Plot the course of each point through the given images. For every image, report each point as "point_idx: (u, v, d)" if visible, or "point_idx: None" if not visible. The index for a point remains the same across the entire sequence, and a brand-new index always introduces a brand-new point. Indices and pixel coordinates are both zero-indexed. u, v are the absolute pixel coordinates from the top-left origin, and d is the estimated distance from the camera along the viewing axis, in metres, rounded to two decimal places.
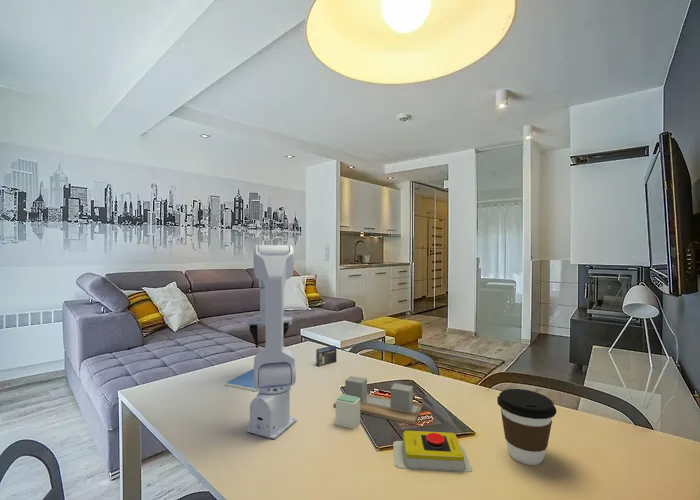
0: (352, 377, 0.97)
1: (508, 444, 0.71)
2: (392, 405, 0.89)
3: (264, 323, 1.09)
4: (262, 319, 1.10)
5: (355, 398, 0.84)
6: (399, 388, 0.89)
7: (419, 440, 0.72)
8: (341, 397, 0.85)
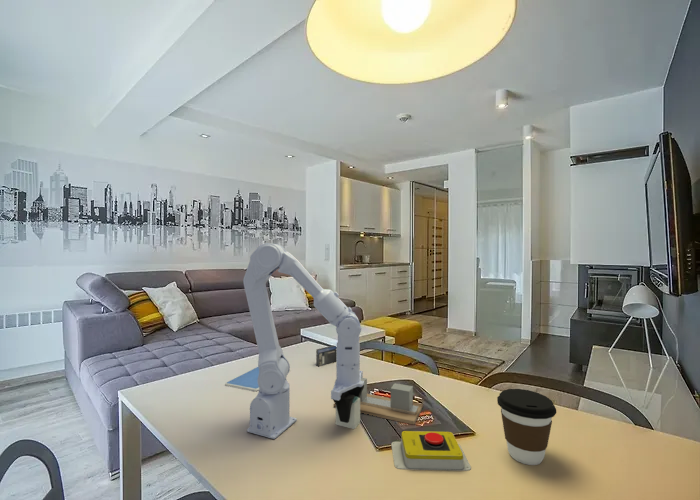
0: None
1: (508, 444, 0.71)
2: (392, 405, 0.89)
3: None
4: None
5: (355, 398, 0.84)
6: (399, 388, 0.89)
7: (418, 440, 0.72)
8: None
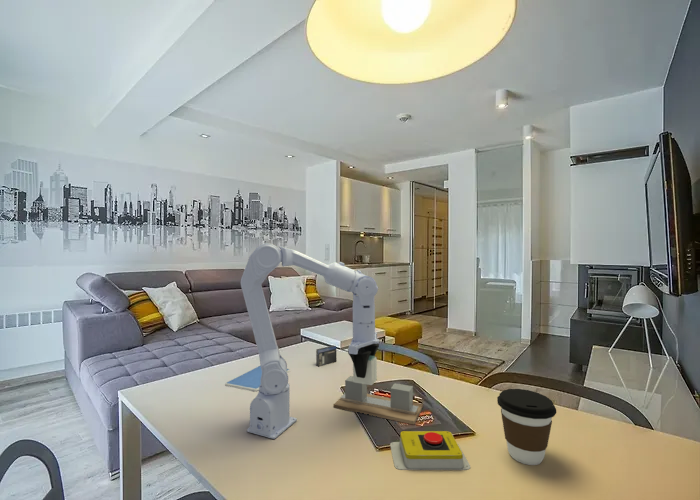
0: (352, 377, 0.97)
1: (508, 444, 0.71)
2: (392, 405, 0.89)
3: None
4: None
5: (372, 357, 0.88)
6: (399, 388, 0.89)
7: (417, 440, 0.72)
8: None
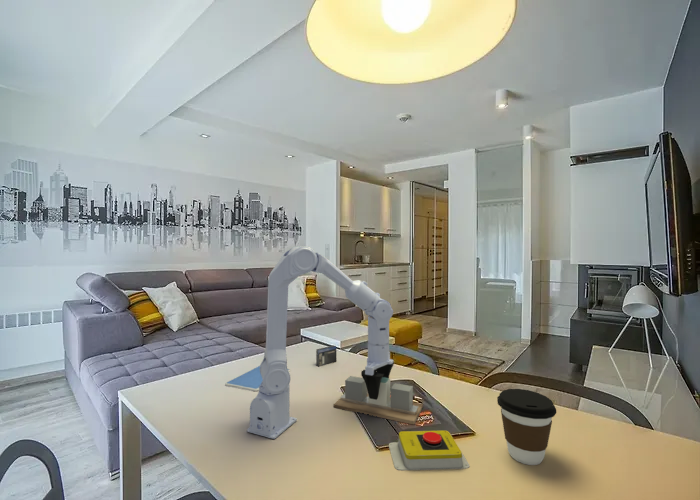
0: (352, 377, 0.97)
1: (508, 444, 0.71)
2: (392, 405, 0.89)
3: None
4: None
5: (386, 379, 0.92)
6: (399, 388, 0.89)
7: (416, 440, 0.72)
8: None
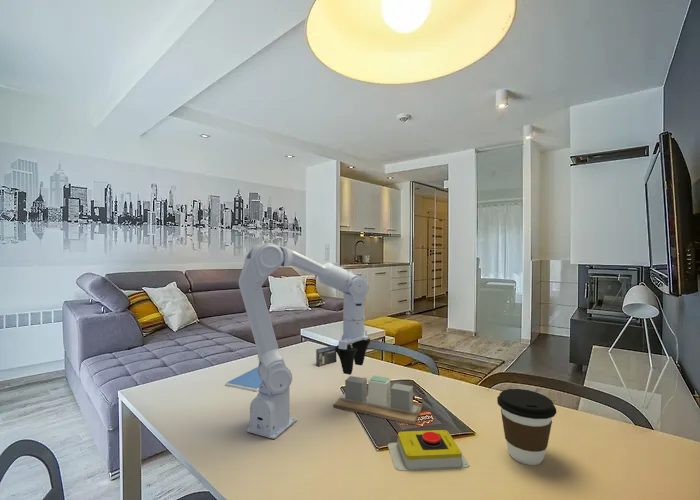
0: (352, 377, 0.97)
1: (508, 444, 0.71)
2: (392, 405, 0.89)
3: None
4: None
5: (386, 379, 0.92)
6: (399, 388, 0.89)
7: (415, 440, 0.72)
8: (373, 378, 0.93)
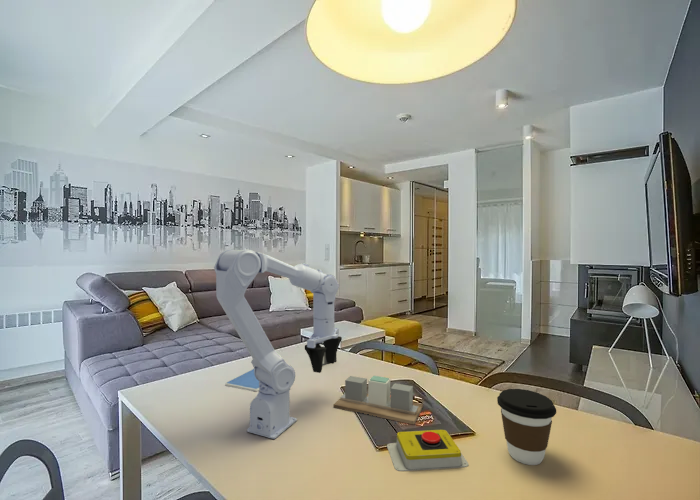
0: (352, 377, 0.97)
1: (508, 444, 0.71)
2: (392, 405, 0.89)
3: None
4: None
5: (386, 379, 0.92)
6: (399, 388, 0.89)
7: (415, 440, 0.72)
8: (373, 378, 0.93)
